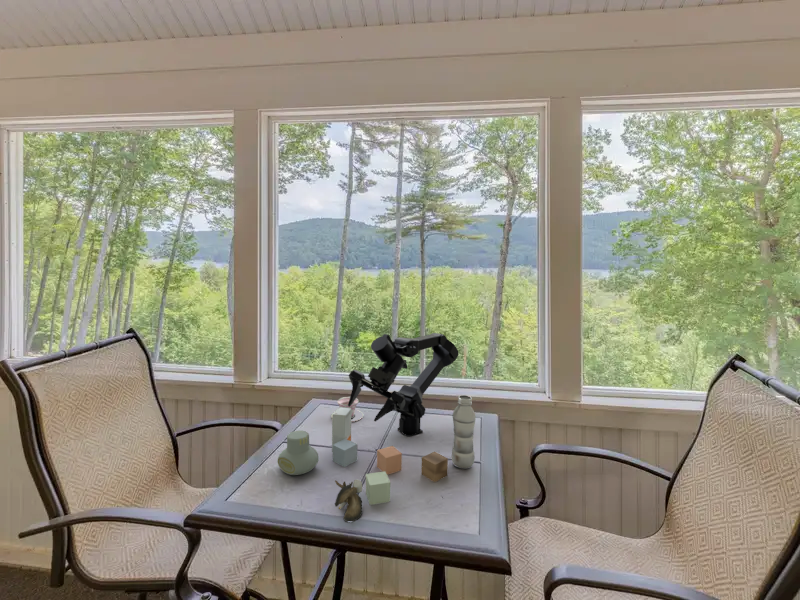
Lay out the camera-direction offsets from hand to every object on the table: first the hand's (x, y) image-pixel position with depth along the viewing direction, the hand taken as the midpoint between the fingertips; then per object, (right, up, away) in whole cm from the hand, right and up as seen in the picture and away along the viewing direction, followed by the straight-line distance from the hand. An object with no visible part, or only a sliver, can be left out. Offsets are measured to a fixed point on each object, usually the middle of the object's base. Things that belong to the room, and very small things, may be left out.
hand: (361, 413), depth 113 cm
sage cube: (+6, -15, -19) cm, 25 cm away
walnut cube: (+21, -14, -8) cm, 27 cm away
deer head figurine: (-1, -16, -23) cm, 28 cm away
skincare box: (-7, -13, +5) cm, 15 cm away
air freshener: (-17, -14, -7) cm, 23 cm away
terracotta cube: (+8, -14, -5) cm, 17 cm away
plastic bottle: (+29, -14, -3) cm, 33 cm away
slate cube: (-5, -13, -2) cm, 14 cm away
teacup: (-8, -10, +30) cm, 33 cm away
